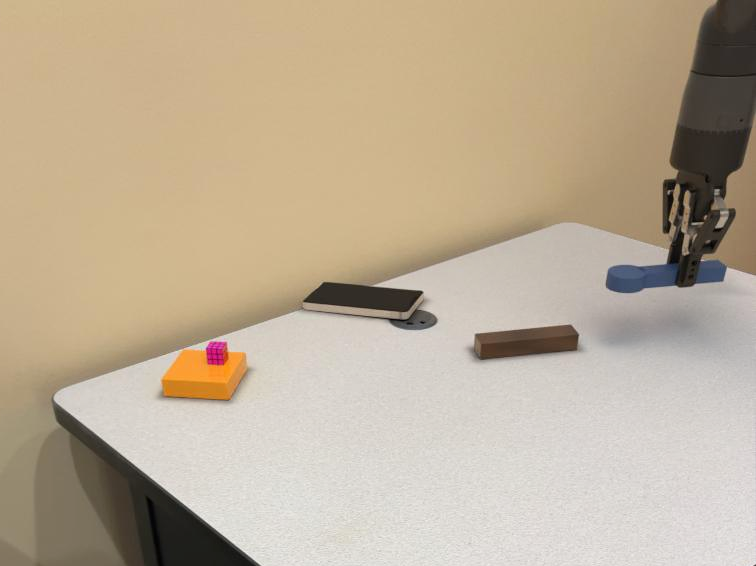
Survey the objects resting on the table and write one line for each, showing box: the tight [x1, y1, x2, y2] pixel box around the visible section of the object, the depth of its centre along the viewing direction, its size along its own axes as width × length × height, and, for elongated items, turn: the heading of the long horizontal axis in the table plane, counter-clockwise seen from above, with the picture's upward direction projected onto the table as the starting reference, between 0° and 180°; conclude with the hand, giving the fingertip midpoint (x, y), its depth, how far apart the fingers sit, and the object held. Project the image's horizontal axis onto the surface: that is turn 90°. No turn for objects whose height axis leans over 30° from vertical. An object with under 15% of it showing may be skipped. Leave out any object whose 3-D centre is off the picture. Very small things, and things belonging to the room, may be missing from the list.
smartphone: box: [302, 281, 425, 320], centre depth 122 cm, size 8×1×15 cm
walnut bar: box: [473, 324, 580, 360], centre depth 108 cm, size 12×3×2 cm, turn 96°
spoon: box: [604, 259, 728, 294], centre depth 105 cm, size 14×4×2 cm, turn 96°
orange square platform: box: [160, 340, 248, 401], centre depth 105 cm, size 8×8×4 cm
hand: (678, 280), depth 105 cm, fingers closed on spoon, 2 cm apart
